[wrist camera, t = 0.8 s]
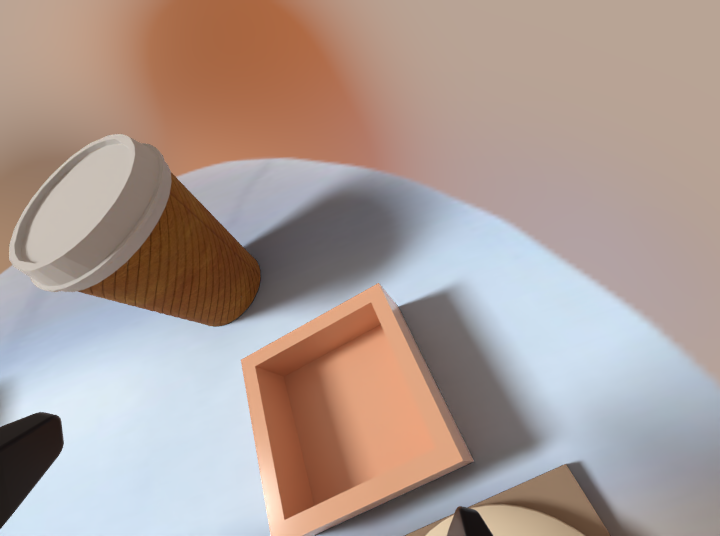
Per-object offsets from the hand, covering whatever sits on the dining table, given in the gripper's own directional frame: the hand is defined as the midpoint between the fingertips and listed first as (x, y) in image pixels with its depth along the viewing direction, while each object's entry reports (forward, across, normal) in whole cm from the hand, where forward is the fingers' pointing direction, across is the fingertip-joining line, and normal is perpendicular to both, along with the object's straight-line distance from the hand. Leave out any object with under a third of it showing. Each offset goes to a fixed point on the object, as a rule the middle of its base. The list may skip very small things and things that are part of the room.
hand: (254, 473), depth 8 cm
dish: (+11, -2, +7) cm, 13 cm away
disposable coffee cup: (+20, +9, +6) cm, 22 cm away
